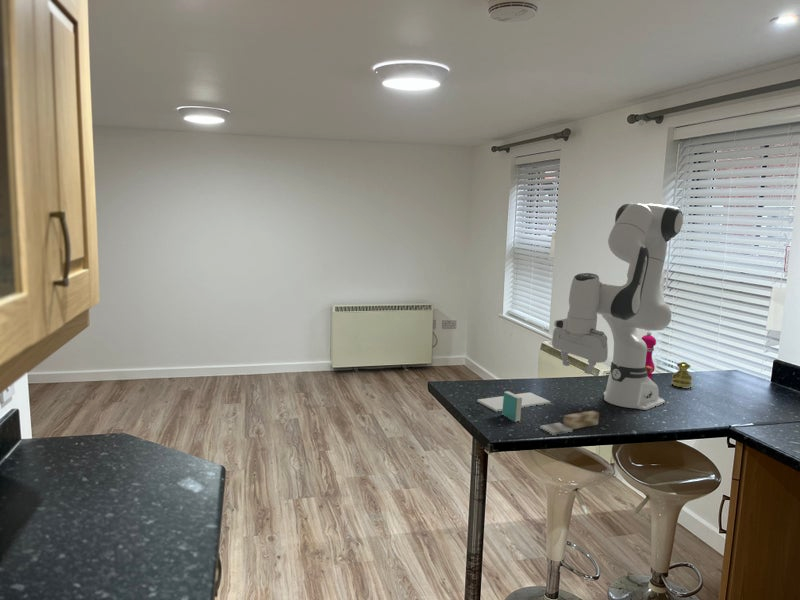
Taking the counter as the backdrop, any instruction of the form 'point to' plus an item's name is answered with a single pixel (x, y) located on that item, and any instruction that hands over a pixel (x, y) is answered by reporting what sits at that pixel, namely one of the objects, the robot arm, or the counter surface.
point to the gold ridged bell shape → (682, 376)
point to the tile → (512, 406)
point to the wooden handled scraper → (572, 422)
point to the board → (527, 398)
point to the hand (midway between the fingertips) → (576, 369)
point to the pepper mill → (649, 351)
